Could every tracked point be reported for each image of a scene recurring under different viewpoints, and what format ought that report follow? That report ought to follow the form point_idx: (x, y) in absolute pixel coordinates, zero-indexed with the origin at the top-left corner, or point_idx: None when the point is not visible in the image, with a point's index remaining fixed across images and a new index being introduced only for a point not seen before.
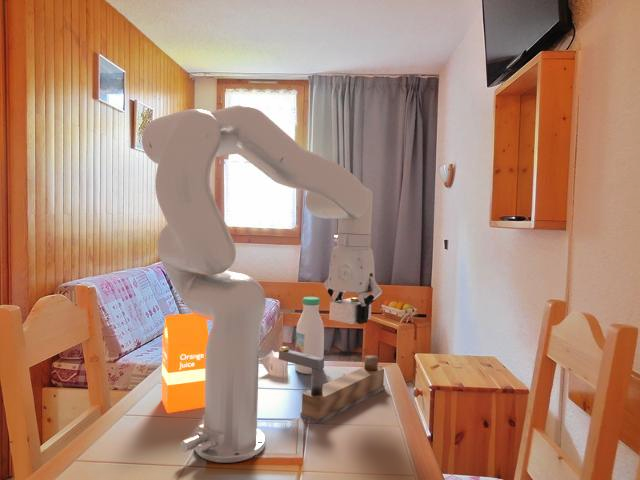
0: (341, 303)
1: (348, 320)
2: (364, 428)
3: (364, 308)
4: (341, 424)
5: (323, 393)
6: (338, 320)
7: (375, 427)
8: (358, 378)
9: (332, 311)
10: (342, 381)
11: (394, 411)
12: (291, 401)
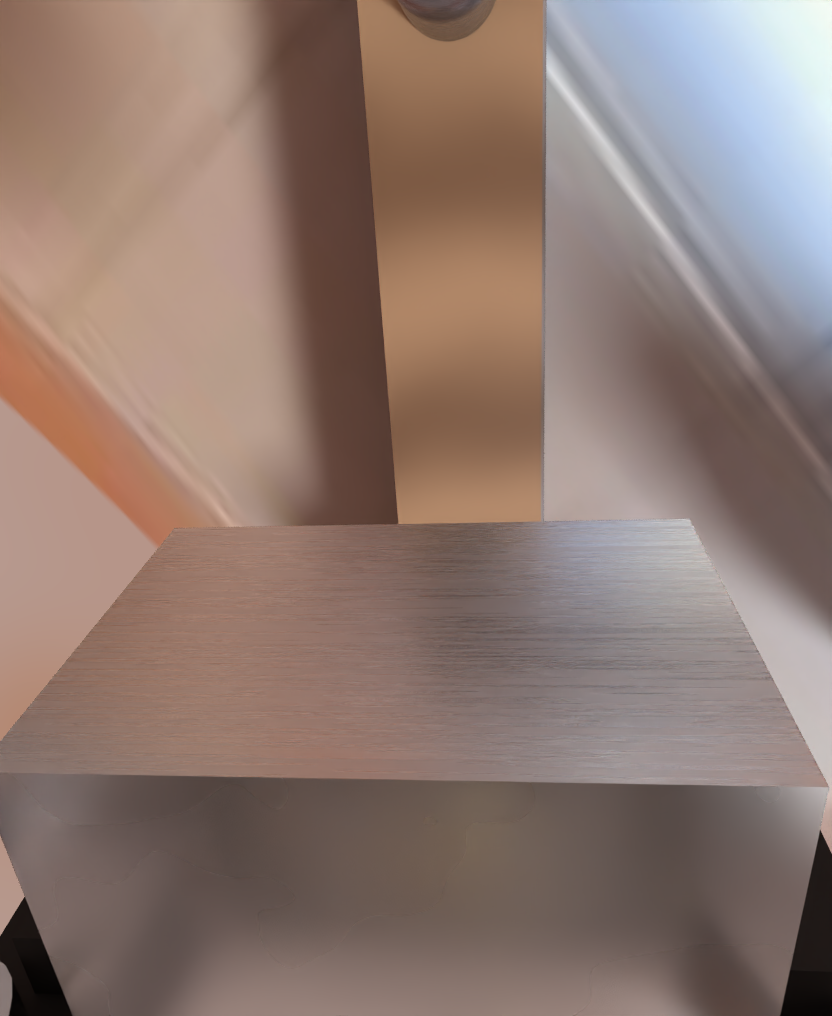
0: (388, 813)
1: (221, 553)
2: (138, 134)
3: (10, 948)
4: (264, 65)
5: (411, 39)
6: (457, 528)
7: (109, 199)
8: (424, 509)
9: (643, 610)
10: (471, 377)
11: (187, 461)
12: (768, 96)
